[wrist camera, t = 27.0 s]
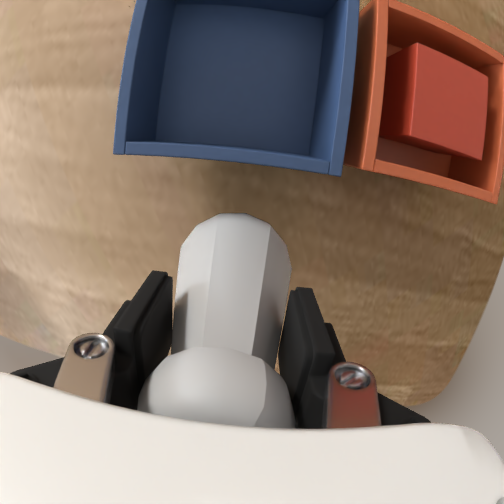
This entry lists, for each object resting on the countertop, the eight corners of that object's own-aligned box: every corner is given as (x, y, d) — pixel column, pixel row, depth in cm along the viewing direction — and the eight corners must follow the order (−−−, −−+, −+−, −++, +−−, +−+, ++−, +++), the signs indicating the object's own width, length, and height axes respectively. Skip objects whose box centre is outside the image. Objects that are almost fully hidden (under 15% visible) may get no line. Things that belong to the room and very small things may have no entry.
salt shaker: (293, 282, 19) (332, 484, 7) (204, 300, 20) (161, 495, 8) (274, 190, 17) (316, 366, 5) (175, 214, 18) (58, 389, 6)
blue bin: (332, 16, 15) (360, -20, 10) (314, 166, 18) (341, 177, 13) (170, 0, 14) (147, -39, 9) (147, 149, 18) (112, 154, 13)
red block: (442, 84, 16) (488, 76, 11) (435, 153, 18) (482, 161, 13) (378, 61, 16) (417, 41, 11) (370, 135, 17) (409, 135, 13)
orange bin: (460, 68, 16) (509, 59, 11) (447, 187, 19) (497, 204, 14) (345, 26, 15) (377, -7, 10) (330, 161, 18) (361, 169, 13)
